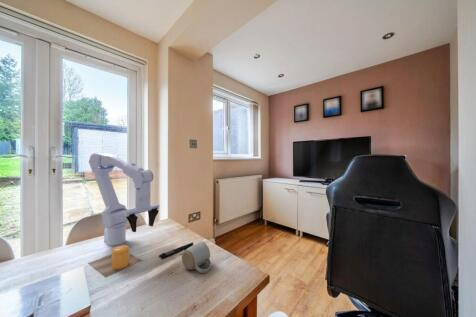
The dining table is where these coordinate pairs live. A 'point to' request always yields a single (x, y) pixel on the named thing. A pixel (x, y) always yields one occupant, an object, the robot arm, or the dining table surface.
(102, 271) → the board
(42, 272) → the dining table surface
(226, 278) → the dining table surface
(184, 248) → the electric trimmer
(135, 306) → the dining table surface
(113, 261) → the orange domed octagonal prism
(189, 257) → the ceramic mug
